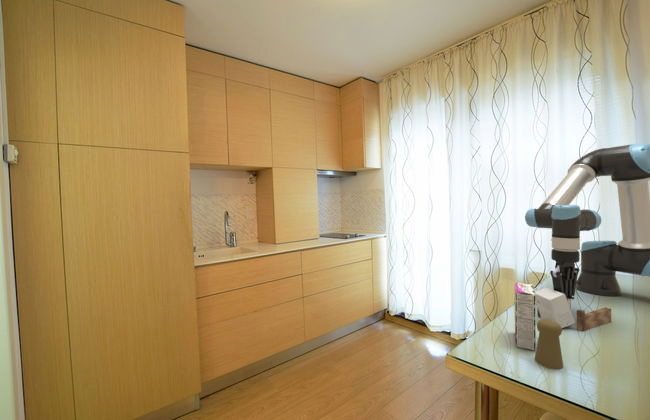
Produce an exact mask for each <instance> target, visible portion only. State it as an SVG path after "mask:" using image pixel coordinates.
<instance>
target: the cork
mask: <svg viewBox="0 0 650 420" xmlns="http://www.w3.org/2000/svg"><path fill="white" fill-rule="evenodd" d="M536 328H537V331H538V332H539V333H538V339H537V344H536V348H535V349H536V350H535V354H534V355H535V356H534V361H535V362H536V363H537V364H538V365H540V366H542V367H545V368H548V369H552V370H561V369H563V368H564V361H563V355H562V349H561V348H562V347H561V342H560V336H561V335H562V331H563V330H562V329H563V328H561V326H560V325H559V324H558V323H557V322H554V321H551V320H542V319H540V320H538V321H537V324H536Z"/></svg>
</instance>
